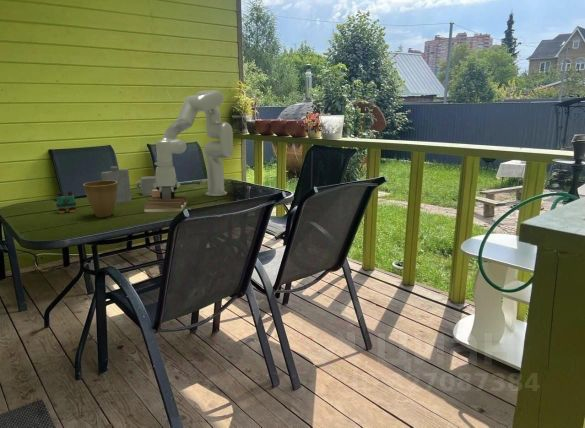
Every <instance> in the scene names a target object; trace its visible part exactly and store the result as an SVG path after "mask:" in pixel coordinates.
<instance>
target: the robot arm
mask: <svg viewBox="0 0 585 428" xmlns="http://www.w3.org/2000/svg"><path fill="white" fill-rule="evenodd" d="M223 102H224V95H223V93H222V92H221V91H220V90H216V89H213V90H206V89H205V90H199V91H198V92H197V93H195V95H194V94H193V95H192V94H191V95H188V96H186V97H185V99H184V101H183V104H182V105H181V108H180V111H179V113H178V116H177V118H176V120H174V121H173V122H172V123H171V124H170V125H169V127H167V129H166V130H165V131H164V133H163V136H162V138H161V140H160V139H159V140H157V141H156V142H155V147H156V162H154V165H155V166H157V167H155V177H156V181H155V182H154V184H153V187H154V188H156V189H157V190H158V191H159V192H160V198H161V199H162V187H171V190H172V191H171V199H174V197H175V196H176V195H175V191H177V190H178V188H179V187H181V183H180V182H179V180H177V174H176V169H175V166H174V163H173V154H177V155H179V154H183V153H184V152H186V150H187V143H186V141H184V139H181V138H180V139H179V138H177V137H178V135H180V134H181V133H182V132H184V131H187V130H188V129H190V128H192V127H193V125H194V123H195V119H196V117H197V115H198V112H204V114H205V131H206V136H207V137H208V138H210V139H215V140H210V141H207V142H206V143H205V144H204V147H203V151H204V156H205V161H206V175H207V176H206V177H207V192H205V196H208V197H222V196H227V195H228V192H227V191H225V175H224V163H223V160H222V159H229V158H230V157H232V156H233V151H234V133H233V132H234V130H233V127H232V125H231V124H230V123H228V122H226V121H222V117H221V111H220V109H219V107H220V106H221V105H223ZM216 139H217V140H216ZM219 140H220V141H219Z"/></svg>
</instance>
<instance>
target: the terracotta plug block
mask: <svg viewBox="0 0 585 428" xmlns="http://www.w3.org/2000/svg"><path fill="white" fill-rule="evenodd" d="M151 192H152V195H151V198H152V197H155V196H160V192H159V191H158V190H152V191H151Z"/></svg>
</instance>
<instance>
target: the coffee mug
mask: <svg viewBox="0 0 585 428" xmlns="http://www.w3.org/2000/svg"><path fill="white" fill-rule="evenodd" d="M155 181H156V175H154V176H141V177H140V178H139V180H137V181H136V182H135V186H136V189H137V190H139V191H140V192H141V195H142V196H146V195H150V196H152V192H151V191H152V190H157V189H156V188H154V187H153V184H154V182H155ZM139 184H140V186H139Z"/></svg>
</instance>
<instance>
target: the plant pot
mask: <svg viewBox="0 0 585 428" xmlns="http://www.w3.org/2000/svg"><path fill="white" fill-rule="evenodd" d="M82 186H83V189H84V192H85V195H86V198H87V200H88V203H89V205H90V208H91V210H92V212H93V213H94V215H95V216H96V217H97V218H105V217H110V216H113V214H114V210H115V208H116V207H115V205H116V204H115V202H116V194H117V181H111V180H106V181H102V180H95V181H89V182H85V183H83V185H82Z"/></svg>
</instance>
